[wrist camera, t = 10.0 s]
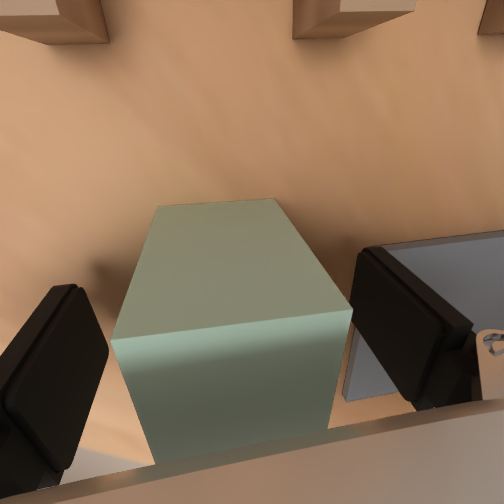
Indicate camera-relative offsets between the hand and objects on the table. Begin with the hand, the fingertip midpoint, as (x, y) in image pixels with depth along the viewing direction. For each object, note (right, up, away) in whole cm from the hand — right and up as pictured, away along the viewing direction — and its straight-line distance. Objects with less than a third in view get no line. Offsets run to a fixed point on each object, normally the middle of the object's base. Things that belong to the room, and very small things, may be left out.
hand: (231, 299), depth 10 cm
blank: (0, 0, +2) cm, 2 cm away
